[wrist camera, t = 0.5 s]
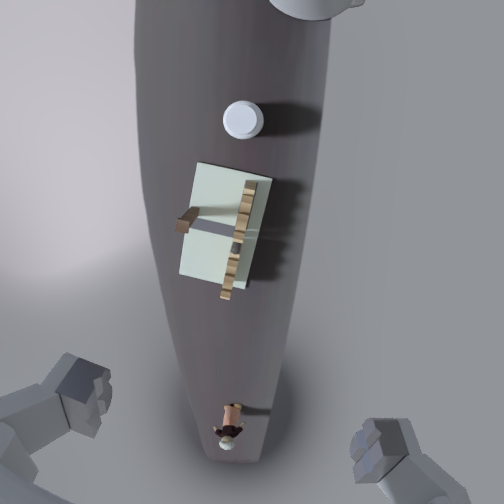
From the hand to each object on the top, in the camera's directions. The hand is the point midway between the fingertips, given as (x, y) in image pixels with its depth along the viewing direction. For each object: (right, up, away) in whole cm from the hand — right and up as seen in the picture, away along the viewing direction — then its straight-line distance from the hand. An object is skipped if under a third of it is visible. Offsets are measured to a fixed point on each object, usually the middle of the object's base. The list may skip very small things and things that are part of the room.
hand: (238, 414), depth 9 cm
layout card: (-4, +9, +44) cm, 45 cm away
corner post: (-9, +12, +43) cm, 46 cm away
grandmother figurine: (-5, -33, +62) cm, 70 cm away
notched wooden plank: (-3, +3, +45) cm, 45 cm away
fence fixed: (-1, +12, +42) cm, 44 cm away
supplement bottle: (0, +25, +37) cm, 45 cm away
